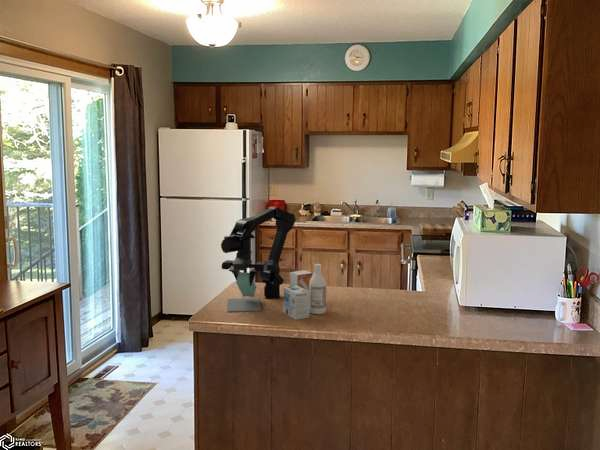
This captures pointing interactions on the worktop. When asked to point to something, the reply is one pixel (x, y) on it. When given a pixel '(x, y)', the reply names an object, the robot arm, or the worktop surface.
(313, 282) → the bath foam
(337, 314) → the worktop surface
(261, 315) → the worktop surface
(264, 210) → the robot arm
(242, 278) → the teal block
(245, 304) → the mat
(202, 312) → the worktop surface
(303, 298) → the light bulb box
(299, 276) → the small box
